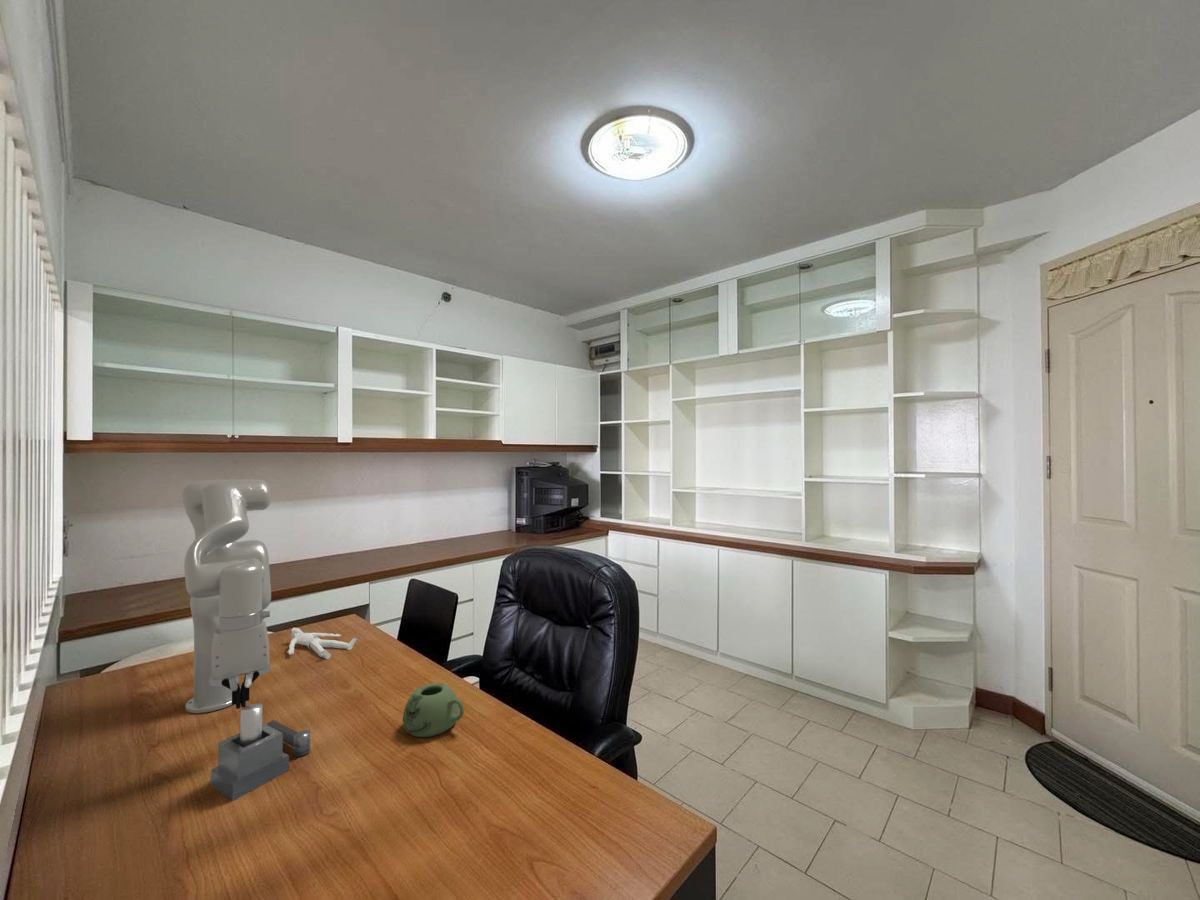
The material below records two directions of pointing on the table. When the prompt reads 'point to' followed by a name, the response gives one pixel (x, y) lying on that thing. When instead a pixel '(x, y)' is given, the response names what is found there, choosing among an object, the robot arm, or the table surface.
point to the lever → (293, 738)
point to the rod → (250, 724)
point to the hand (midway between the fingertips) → (240, 705)
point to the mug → (431, 710)
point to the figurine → (317, 642)
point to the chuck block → (249, 763)
